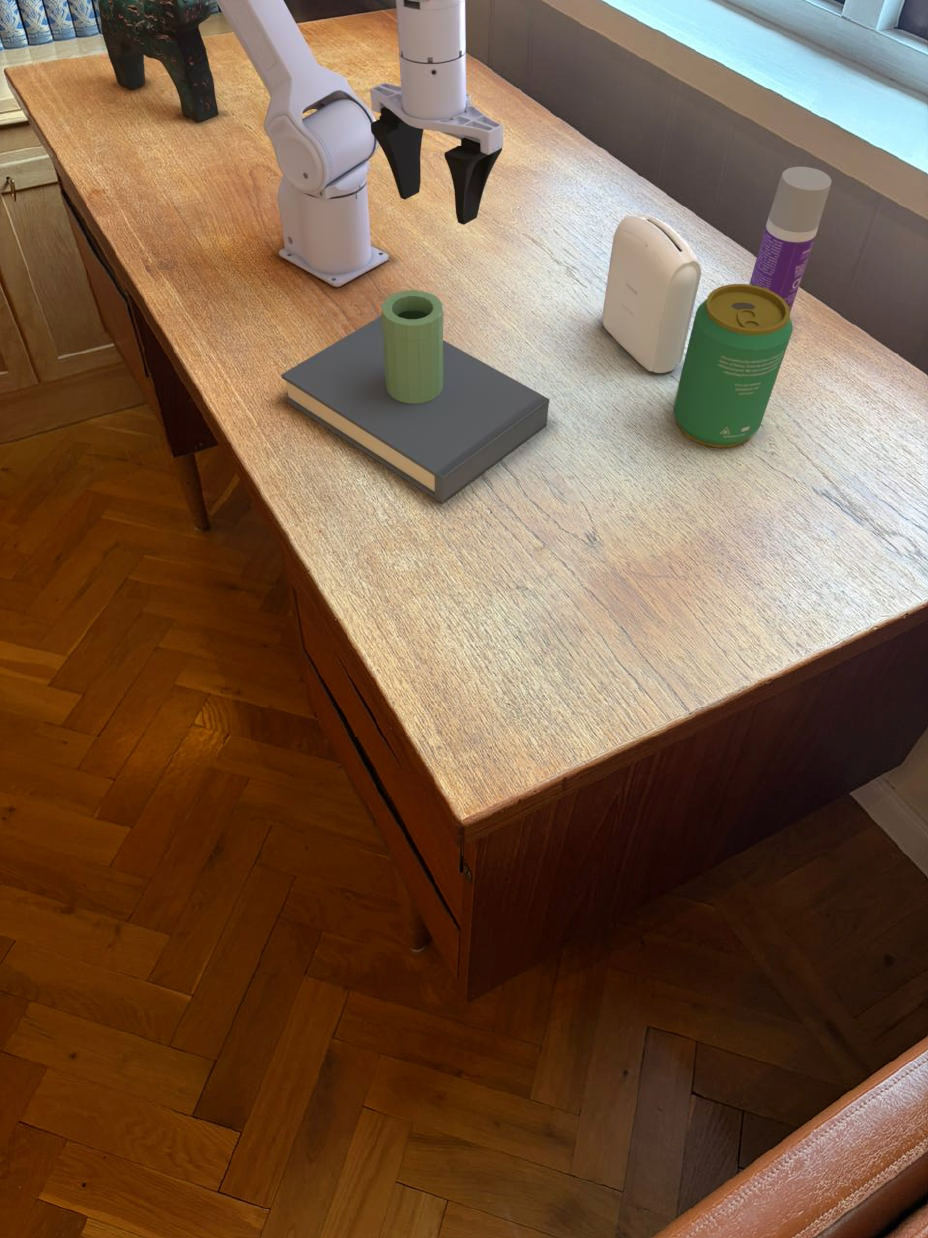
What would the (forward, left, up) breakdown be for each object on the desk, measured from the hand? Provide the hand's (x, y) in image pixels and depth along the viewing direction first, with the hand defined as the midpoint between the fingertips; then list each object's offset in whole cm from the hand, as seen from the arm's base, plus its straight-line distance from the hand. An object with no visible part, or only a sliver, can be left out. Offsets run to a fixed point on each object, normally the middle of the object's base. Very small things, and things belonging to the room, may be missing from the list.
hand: (438, 207), depth 90 cm
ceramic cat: (-59, +9, -10) cm, 60 cm away
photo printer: (+20, +8, -10) cm, 24 cm away
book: (+11, -15, -10) cm, 21 cm away
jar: (+11, -15, -7) cm, 20 cm away
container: (+27, +20, -10) cm, 35 cm away
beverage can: (+32, +3, -10) cm, 34 cm away
